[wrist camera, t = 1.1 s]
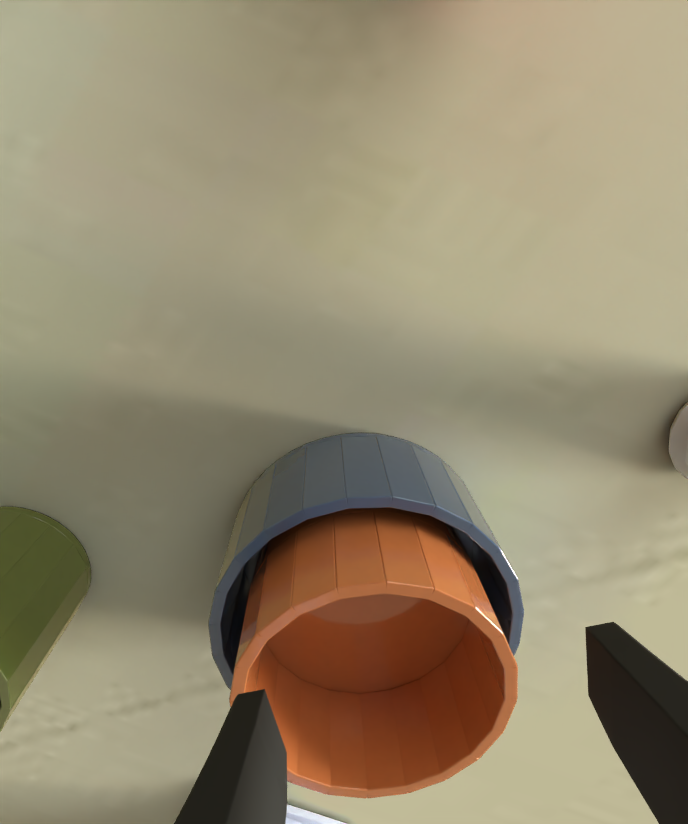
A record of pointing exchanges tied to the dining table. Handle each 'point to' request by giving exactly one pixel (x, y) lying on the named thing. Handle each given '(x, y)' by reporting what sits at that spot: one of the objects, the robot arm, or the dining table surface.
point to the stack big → (347, 489)
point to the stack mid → (375, 652)
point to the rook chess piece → (680, 441)
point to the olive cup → (34, 596)
